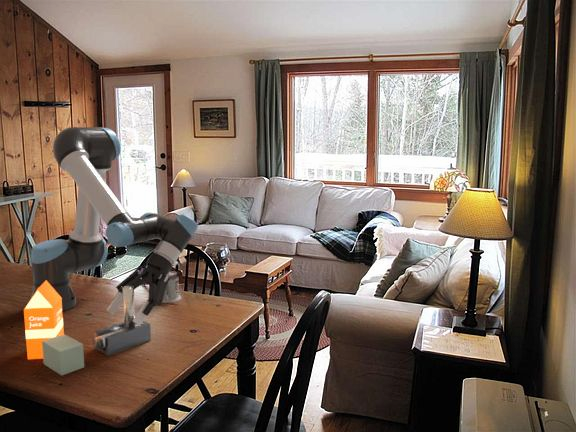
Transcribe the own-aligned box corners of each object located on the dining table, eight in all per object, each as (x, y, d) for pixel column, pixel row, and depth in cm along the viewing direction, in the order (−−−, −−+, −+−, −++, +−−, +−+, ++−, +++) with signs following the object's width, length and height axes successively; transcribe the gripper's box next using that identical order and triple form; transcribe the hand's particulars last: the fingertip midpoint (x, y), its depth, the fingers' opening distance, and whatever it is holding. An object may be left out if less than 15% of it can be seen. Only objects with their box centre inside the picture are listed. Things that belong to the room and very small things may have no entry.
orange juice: (27, 359, 140) (21, 290, 136) (37, 346, 148) (32, 280, 145) (57, 357, 141) (52, 288, 137) (65, 344, 149) (61, 279, 146)
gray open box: (136, 333, 158) (136, 318, 157) (150, 340, 153) (150, 323, 152) (94, 348, 147) (93, 331, 146) (108, 355, 142) (107, 338, 141)
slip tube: (135, 333, 155) (133, 283, 152) (142, 336, 153) (140, 286, 150) (93, 348, 144) (90, 295, 142) (99, 351, 142) (97, 297, 139)
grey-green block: (65, 356, 142) (64, 334, 141) (84, 367, 135) (82, 344, 134) (43, 364, 137) (41, 341, 136) (61, 375, 131) (60, 351, 130)
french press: (182, 293, 197) (180, 230, 193) (180, 303, 185) (179, 237, 181) (156, 294, 195) (153, 231, 191) (153, 304, 184) (151, 237, 180)
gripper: (196, 272, 152) (156, 334, 143) (146, 258, 168) (108, 314, 159) (181, 258, 147) (139, 322, 139) (132, 245, 163) (91, 302, 154)
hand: (122, 318), depth 149 cm, fingers open, 13 cm apart
